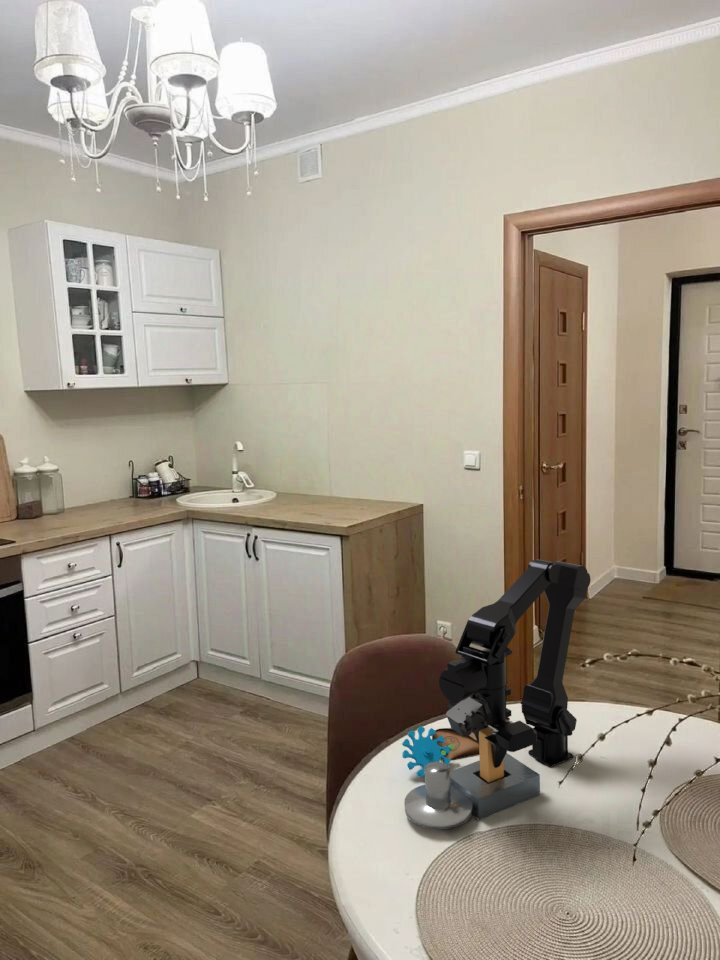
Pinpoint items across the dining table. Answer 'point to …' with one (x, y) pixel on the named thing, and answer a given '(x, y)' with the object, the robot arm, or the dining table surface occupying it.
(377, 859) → the dining table surface
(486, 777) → the tan wooden beam
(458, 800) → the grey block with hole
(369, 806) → the dining table surface
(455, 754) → the sunglasses case
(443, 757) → the gear
